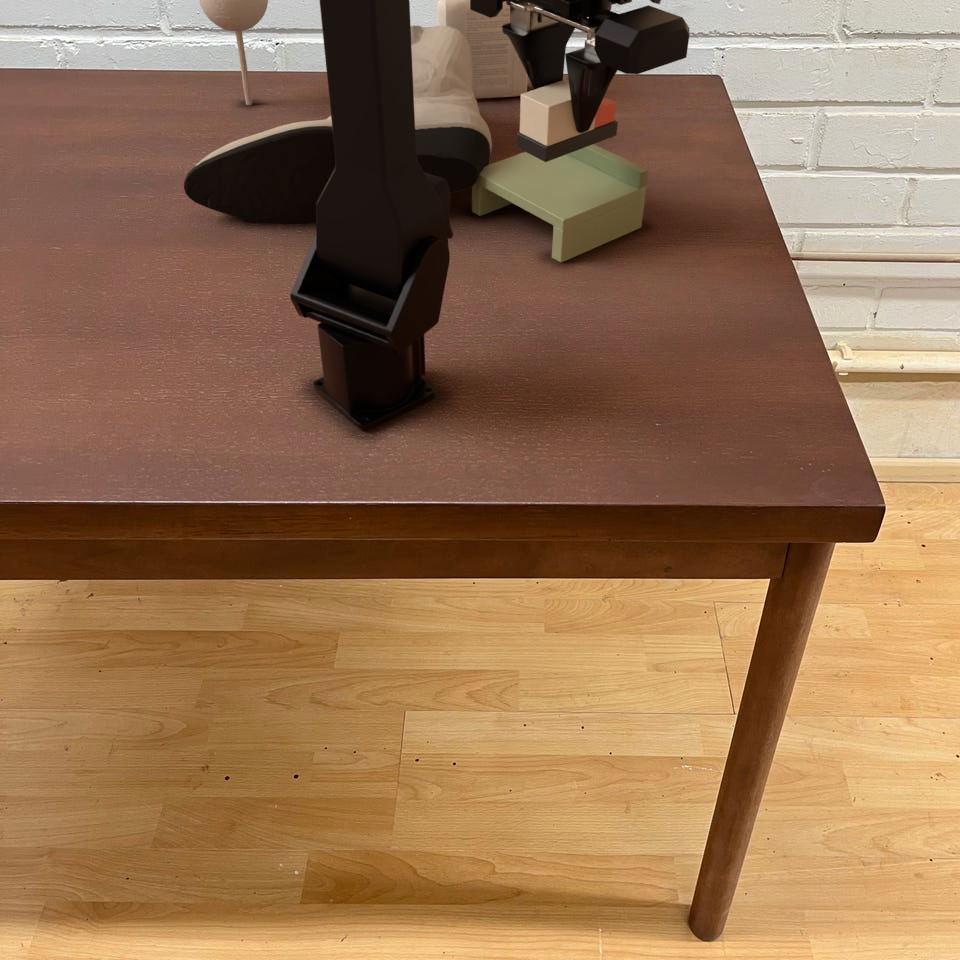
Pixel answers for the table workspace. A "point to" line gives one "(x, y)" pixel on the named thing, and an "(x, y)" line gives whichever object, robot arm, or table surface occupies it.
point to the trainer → (559, 123)
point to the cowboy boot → (311, 154)
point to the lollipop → (236, 25)
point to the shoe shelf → (568, 195)
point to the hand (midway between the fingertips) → (567, 124)
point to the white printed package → (486, 49)
